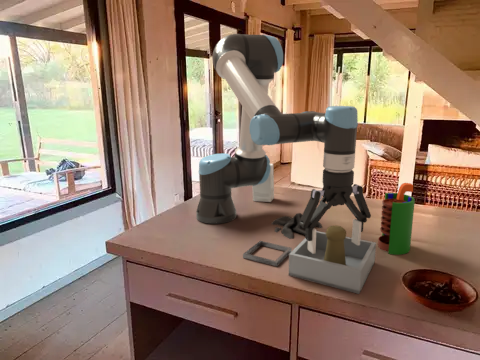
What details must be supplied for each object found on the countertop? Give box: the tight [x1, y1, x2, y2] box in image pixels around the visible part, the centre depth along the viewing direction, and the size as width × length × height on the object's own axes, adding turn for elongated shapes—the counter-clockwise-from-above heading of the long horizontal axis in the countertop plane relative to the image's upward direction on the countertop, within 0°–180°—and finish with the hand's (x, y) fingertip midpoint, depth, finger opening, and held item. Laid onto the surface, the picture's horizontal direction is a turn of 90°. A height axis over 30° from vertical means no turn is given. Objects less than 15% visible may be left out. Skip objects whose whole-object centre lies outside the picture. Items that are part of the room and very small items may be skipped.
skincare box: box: [251, 163, 275, 203], centre depth 155 cm, size 8×7×16 cm
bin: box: [288, 230, 377, 295], centre depth 97 cm, size 18×18×6 cm
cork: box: [324, 225, 347, 265], centre depth 96 cm, size 6×6×11 cm
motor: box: [377, 182, 416, 256], centre depth 108 cm, size 10×9×20 cm
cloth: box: [270, 212, 323, 240], centre depth 124 cm, size 22×19×6 cm
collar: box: [242, 240, 293, 267], centre depth 106 cm, size 11×11×1 cm
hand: (334, 247), depth 96 cm, fingers open, 13 cm apart
